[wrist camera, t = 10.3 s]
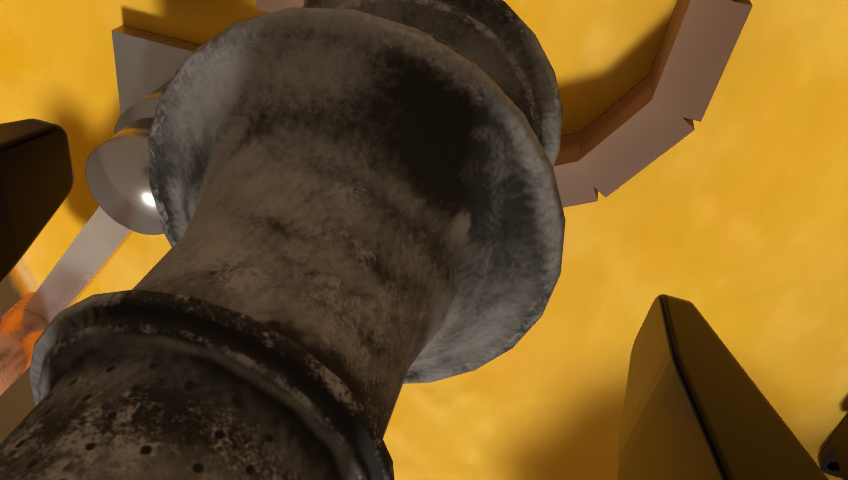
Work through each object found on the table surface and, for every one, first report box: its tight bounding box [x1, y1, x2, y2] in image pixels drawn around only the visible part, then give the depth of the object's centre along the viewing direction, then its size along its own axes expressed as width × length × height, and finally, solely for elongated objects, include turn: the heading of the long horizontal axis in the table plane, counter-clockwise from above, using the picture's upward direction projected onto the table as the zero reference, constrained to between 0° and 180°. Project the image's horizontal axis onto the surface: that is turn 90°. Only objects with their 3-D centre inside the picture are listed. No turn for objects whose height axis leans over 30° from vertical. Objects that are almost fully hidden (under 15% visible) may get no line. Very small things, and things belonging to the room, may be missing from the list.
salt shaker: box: [0, 0, 565, 480], centre depth 7 cm, size 6×6×12 cm
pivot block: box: [112, 25, 201, 134], centre depth 24 cm, size 6×6×2 cm
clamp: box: [0, 118, 164, 395], centre depth 23 cm, size 7×16×4 cm, turn 137°
